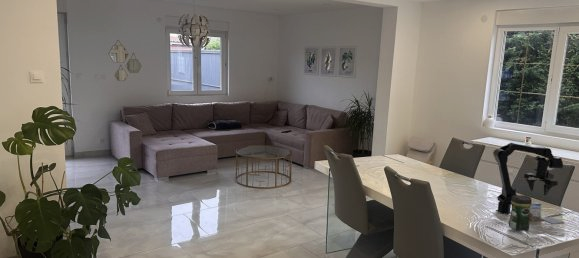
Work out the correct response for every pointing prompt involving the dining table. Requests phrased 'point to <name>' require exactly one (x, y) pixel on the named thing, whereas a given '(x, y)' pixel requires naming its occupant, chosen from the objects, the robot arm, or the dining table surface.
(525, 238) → the dining table surface
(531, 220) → the shelf bay
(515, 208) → the coffee jar
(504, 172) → the robot arm
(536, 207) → the medicine box
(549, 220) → the pad
